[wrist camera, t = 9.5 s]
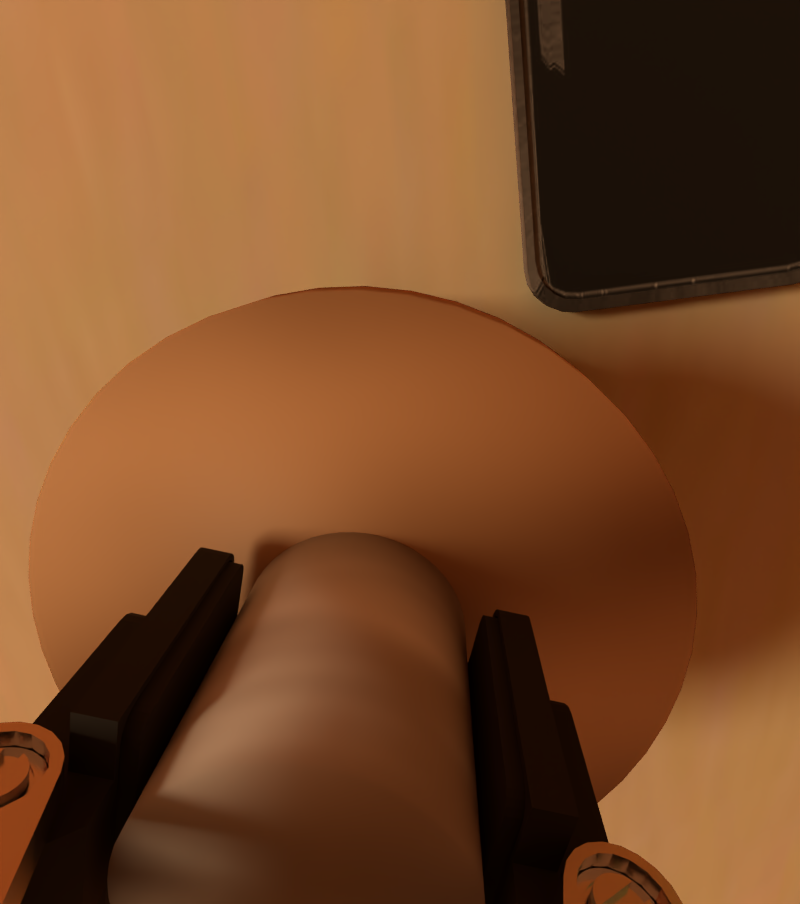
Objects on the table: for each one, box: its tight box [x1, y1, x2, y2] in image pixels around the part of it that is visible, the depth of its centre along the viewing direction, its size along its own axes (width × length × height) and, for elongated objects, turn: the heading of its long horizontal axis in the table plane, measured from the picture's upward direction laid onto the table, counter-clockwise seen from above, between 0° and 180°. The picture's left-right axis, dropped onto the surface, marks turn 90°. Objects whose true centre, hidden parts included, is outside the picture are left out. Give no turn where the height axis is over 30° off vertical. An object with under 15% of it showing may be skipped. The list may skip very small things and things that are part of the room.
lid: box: [29, 286, 697, 904], centre depth 9 cm, size 12×12×6 cm
